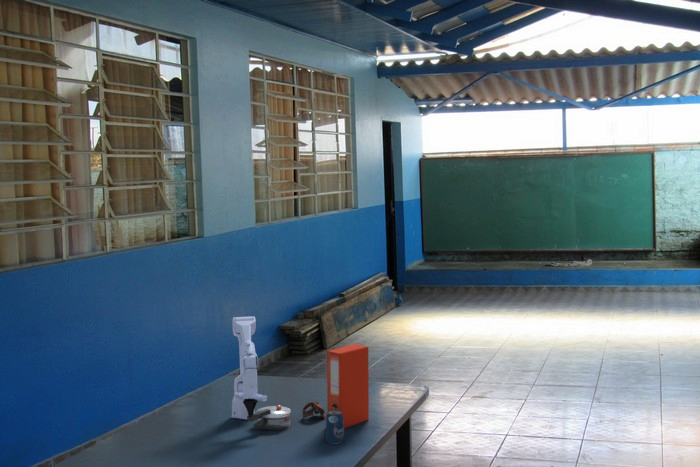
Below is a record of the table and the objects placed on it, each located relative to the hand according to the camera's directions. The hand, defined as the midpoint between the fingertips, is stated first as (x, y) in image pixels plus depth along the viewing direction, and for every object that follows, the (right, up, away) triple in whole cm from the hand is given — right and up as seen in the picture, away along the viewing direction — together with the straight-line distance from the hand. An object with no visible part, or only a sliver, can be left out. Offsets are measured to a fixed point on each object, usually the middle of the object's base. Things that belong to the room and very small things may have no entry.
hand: (250, 416), depth 346 cm
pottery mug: (+25, -5, +19) cm, 32 cm away
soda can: (+35, -7, -13) cm, 38 cm away
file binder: (+40, -5, +11) cm, 42 cm away
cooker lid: (+6, -1, +5) cm, 8 cm away
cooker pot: (+8, -6, +7) cm, 12 cm away
